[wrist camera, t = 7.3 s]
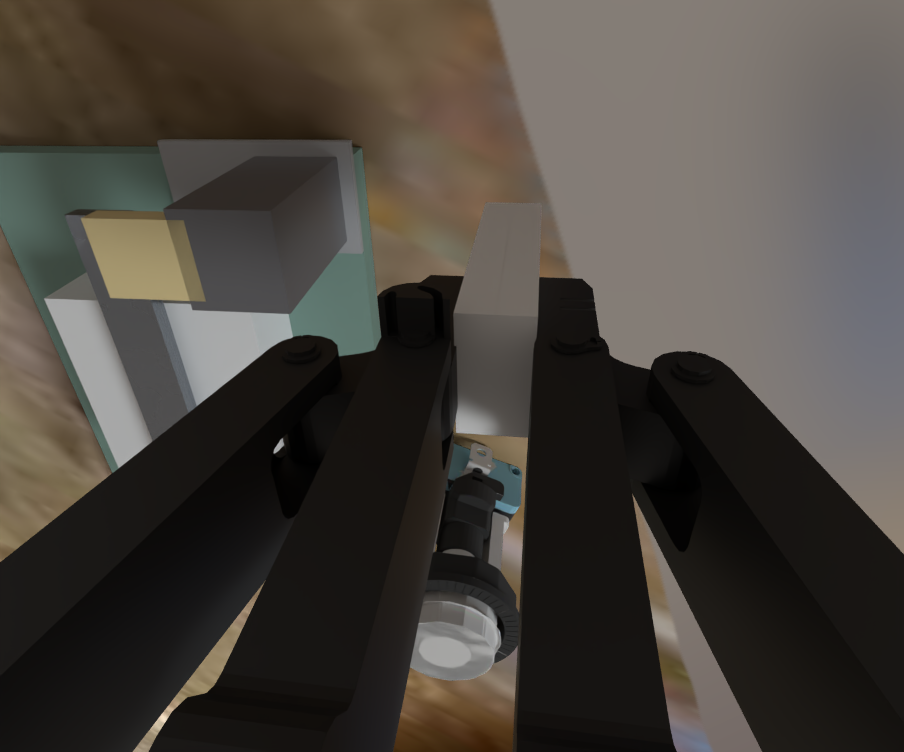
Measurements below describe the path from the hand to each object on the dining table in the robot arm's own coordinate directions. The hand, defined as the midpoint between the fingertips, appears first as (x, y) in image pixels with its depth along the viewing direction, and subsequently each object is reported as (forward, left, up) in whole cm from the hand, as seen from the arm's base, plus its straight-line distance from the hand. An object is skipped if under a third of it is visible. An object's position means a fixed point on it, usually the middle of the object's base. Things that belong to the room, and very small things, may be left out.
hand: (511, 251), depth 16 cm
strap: (-13, -7, -2) cm, 15 cm away
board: (-13, -8, -6) cm, 16 cm away
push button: (-2, -13, -6) cm, 15 cm away
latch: (-9, 0, -5) cm, 10 cm away
